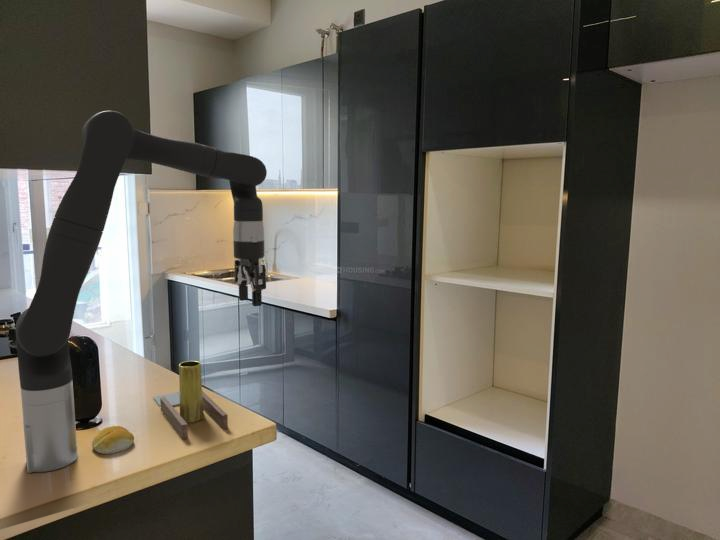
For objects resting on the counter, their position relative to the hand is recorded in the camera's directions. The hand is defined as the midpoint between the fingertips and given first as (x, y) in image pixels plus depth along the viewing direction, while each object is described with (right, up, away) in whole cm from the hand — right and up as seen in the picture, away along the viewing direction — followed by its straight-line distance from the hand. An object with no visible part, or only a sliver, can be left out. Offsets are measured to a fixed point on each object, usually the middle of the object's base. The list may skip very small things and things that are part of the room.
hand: (250, 303), depth 131 cm
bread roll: (-28, -32, -14) cm, 44 cm away
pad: (-23, -28, +13) cm, 38 cm away
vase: (-15, -30, +1) cm, 33 cm away
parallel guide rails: (-14, -29, 0) cm, 33 cm away
